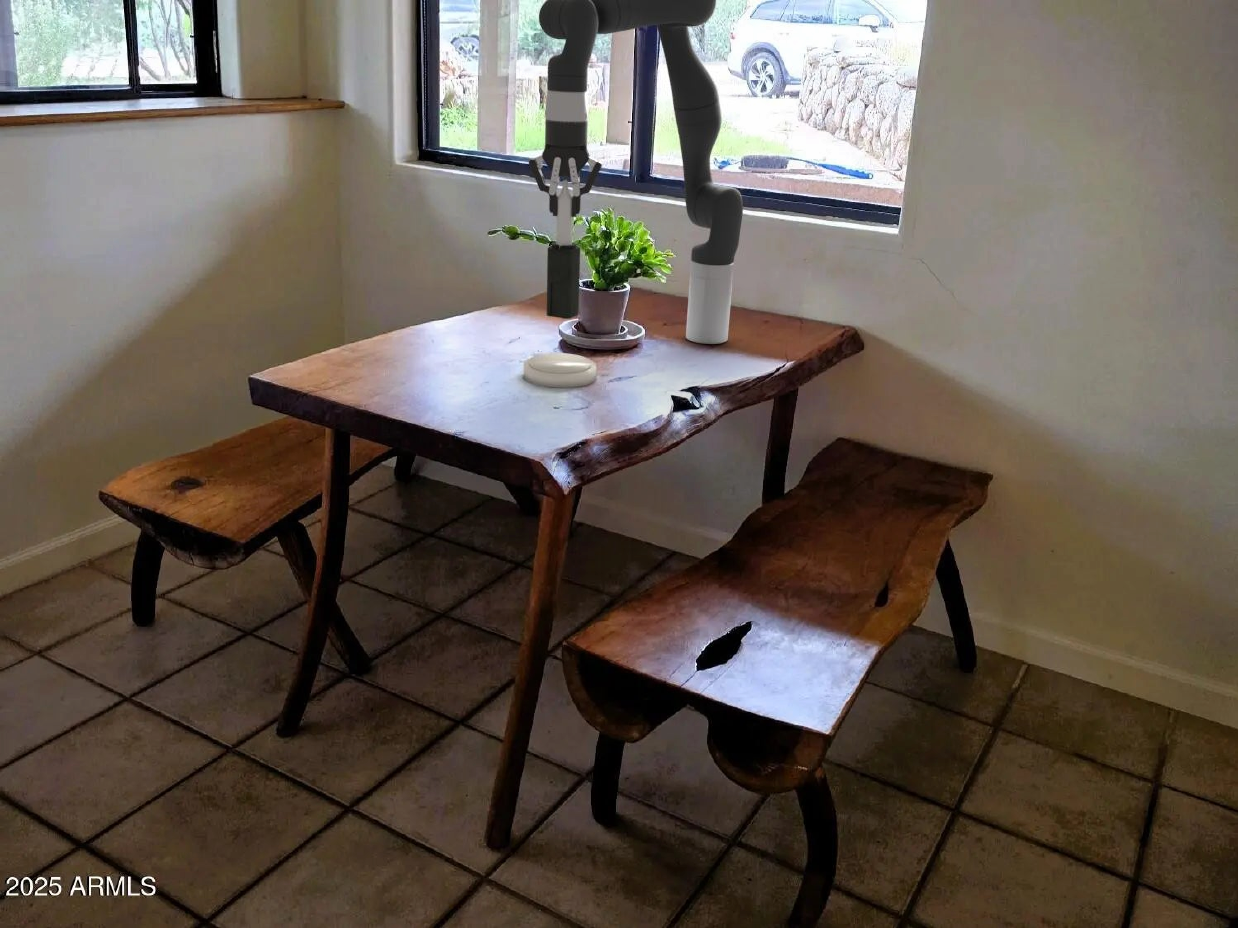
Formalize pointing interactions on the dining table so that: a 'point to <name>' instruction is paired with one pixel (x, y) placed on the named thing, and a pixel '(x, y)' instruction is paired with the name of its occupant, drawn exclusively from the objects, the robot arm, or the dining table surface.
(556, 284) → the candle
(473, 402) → the dining table surface
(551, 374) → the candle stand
